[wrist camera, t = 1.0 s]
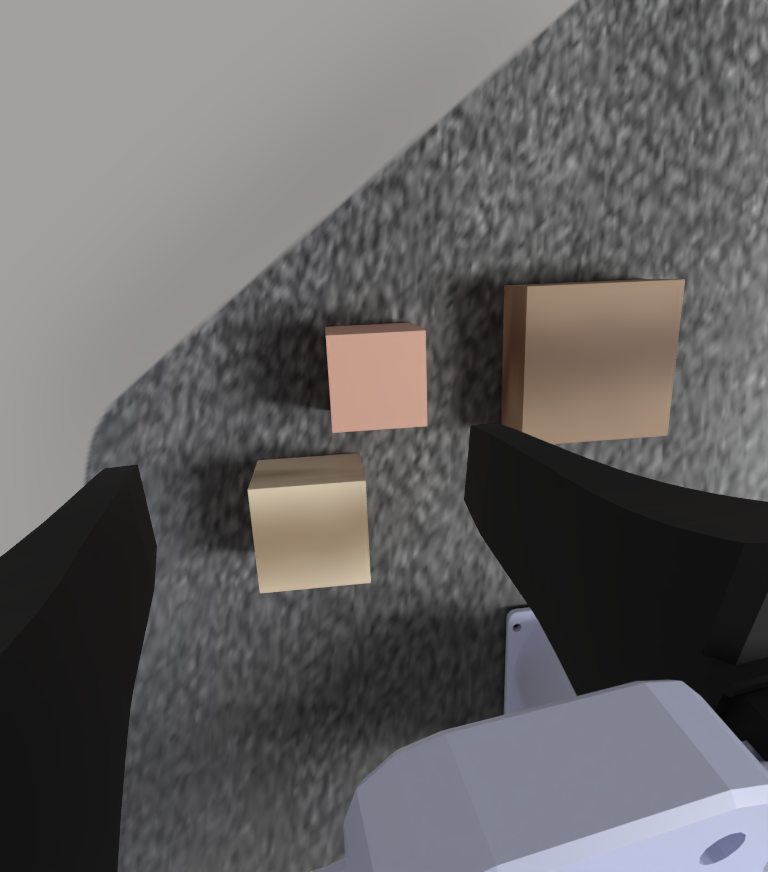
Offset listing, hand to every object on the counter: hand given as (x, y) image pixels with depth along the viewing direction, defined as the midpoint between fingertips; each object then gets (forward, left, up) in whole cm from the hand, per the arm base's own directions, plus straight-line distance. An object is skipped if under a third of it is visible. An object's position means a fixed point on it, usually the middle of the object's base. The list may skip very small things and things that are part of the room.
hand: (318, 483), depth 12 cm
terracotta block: (0, -2, -15) cm, 15 cm away
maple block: (-7, +1, -15) cm, 16 cm away
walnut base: (0, -12, -14) cm, 19 cm away
